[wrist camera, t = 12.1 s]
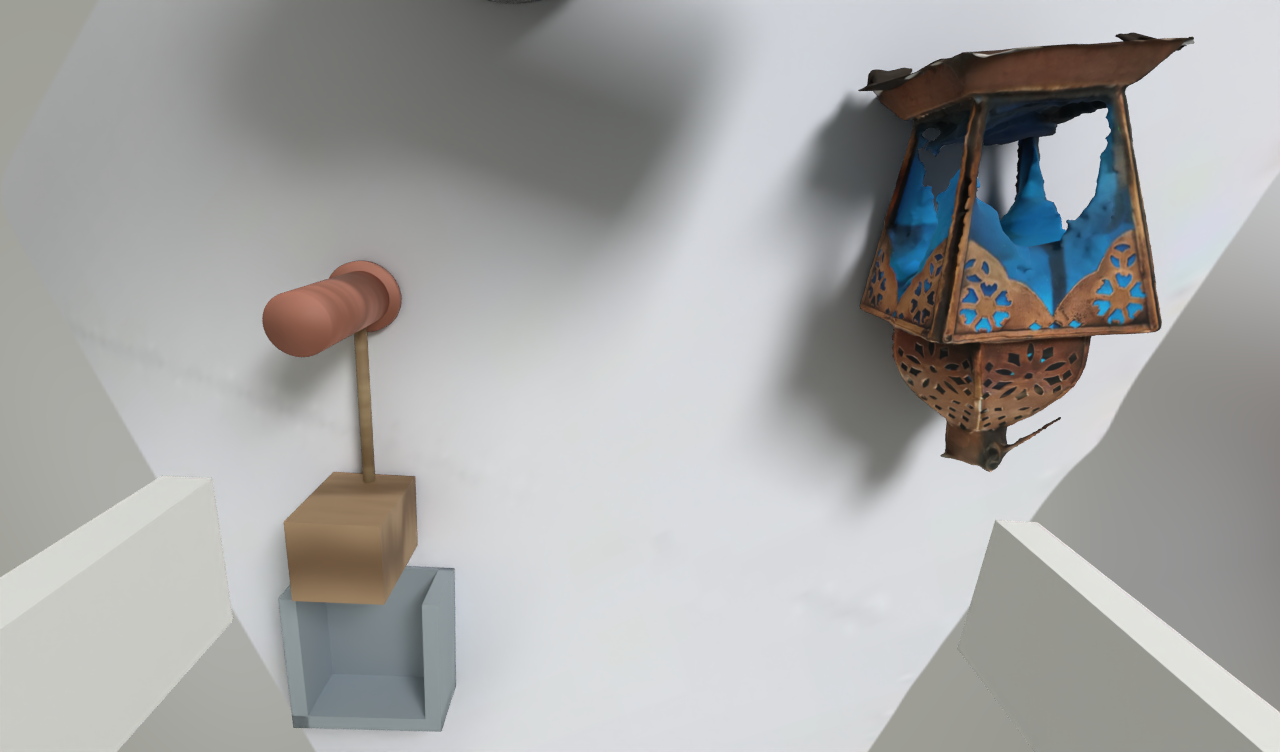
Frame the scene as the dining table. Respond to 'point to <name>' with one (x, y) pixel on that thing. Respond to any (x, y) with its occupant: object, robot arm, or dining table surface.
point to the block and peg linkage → (354, 502)
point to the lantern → (1011, 237)
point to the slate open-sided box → (374, 657)
